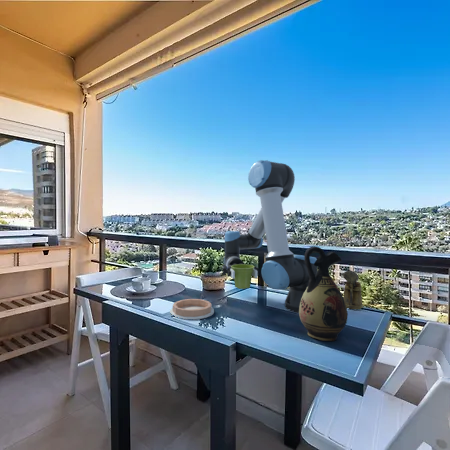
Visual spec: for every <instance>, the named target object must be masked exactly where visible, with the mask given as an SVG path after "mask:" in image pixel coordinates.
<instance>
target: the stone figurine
mask: <svg viewBox="0 0 450 450" xmlns="http://www.w3.org/2000/svg"><path fill="white" fill-rule="evenodd" d="M342 275H343V278H344V280H345V284H344V291H343V298H344V301H345V304H346V308H349V309H348V310H351V309H361V308H363V309H364V304H363V298H362V291H363V290H362V283H361V282H359V275H358V274H357V272H355V271H353V270H351V269H349V270H346V271H344V272H343V274H342Z"/></svg>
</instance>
